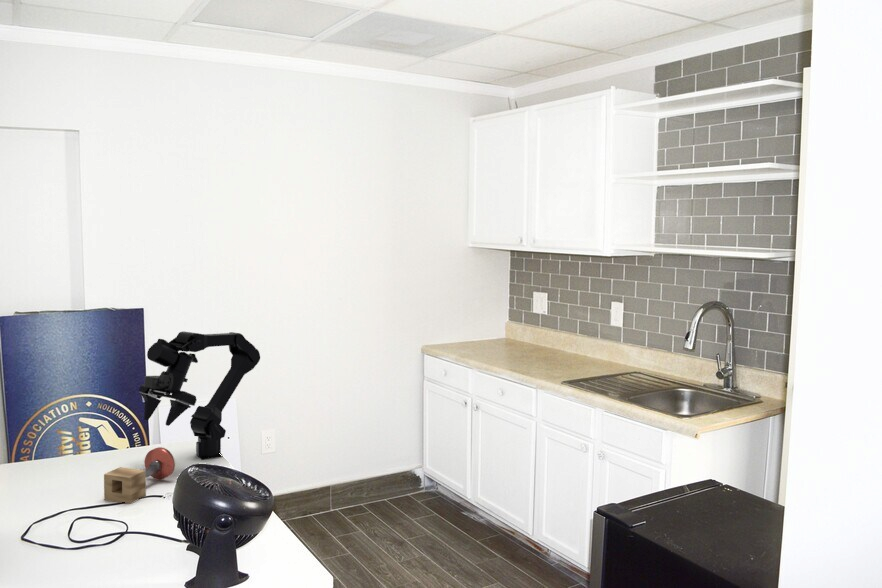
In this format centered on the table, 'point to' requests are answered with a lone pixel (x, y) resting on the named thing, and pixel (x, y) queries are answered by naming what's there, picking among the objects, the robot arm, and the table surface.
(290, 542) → the table surface
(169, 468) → the copper disc handle
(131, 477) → the tan block
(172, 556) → the table surface
